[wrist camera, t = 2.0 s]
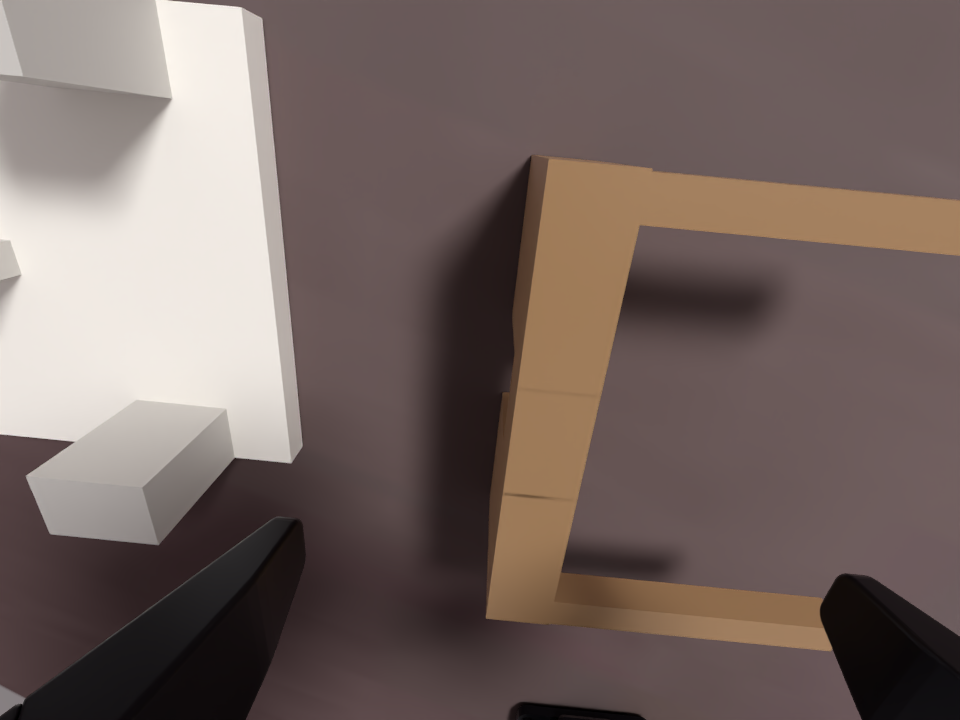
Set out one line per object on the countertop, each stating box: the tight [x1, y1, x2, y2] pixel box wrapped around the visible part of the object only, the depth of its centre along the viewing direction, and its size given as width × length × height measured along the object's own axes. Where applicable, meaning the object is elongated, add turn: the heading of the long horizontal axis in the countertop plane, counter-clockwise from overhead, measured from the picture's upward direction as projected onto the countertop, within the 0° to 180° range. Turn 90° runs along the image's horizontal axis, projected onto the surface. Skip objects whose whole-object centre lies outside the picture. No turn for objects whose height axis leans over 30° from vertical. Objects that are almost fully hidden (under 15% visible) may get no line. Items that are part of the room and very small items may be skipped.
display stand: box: [0, 0, 303, 545], centre depth 12 cm, size 12×13×5 cm
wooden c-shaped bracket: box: [486, 155, 960, 651], centre depth 13 cm, size 10×12×5 cm
